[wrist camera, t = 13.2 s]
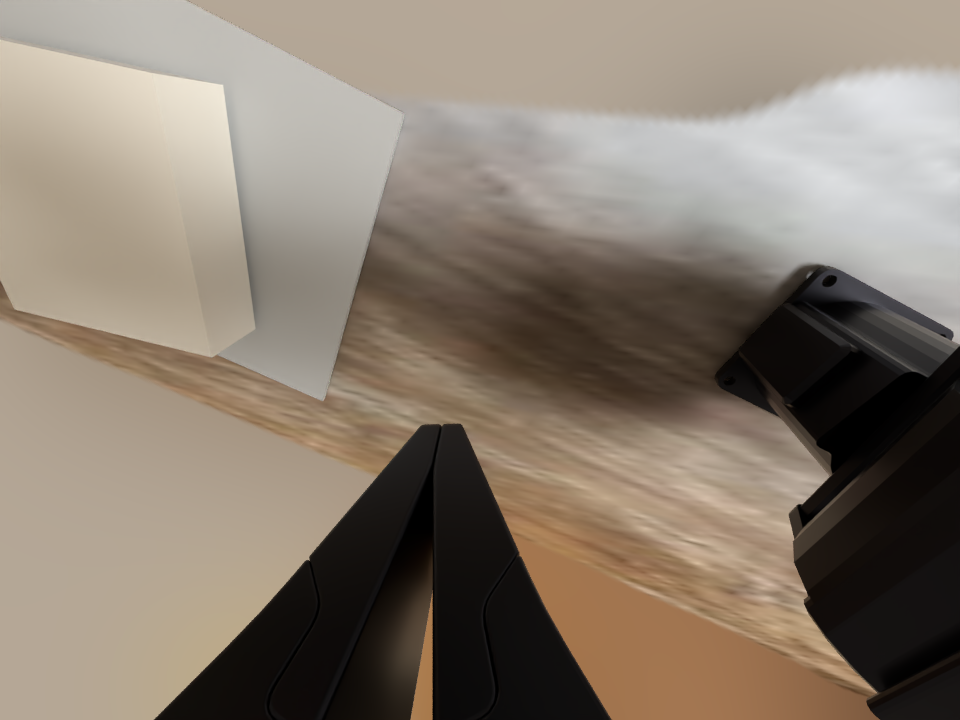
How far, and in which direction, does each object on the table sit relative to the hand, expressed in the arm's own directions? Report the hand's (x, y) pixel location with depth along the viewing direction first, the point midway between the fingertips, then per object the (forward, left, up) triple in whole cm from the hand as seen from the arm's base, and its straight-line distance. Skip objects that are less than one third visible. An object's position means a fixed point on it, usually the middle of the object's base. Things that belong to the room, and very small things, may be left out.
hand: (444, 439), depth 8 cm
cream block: (+12, +3, -9) cm, 16 cm away
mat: (+15, +4, -12) cm, 19 cm away
